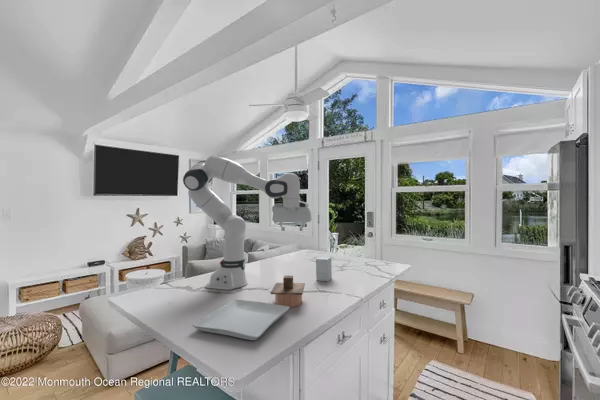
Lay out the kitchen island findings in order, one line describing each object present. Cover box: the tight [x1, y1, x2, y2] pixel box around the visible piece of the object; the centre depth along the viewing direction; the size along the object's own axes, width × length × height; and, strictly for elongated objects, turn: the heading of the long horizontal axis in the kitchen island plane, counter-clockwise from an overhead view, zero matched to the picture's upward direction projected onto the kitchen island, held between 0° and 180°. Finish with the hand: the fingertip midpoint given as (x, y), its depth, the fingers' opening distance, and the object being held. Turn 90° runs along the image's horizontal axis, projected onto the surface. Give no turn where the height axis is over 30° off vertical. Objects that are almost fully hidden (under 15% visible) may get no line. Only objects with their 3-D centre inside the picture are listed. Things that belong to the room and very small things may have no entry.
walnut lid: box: [270, 275, 306, 296], centre depth 131 cm, size 14×14×6 cm
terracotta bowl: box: [274, 294, 303, 308], centre depth 131 cm, size 12×12×6 cm
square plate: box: [192, 299, 291, 341], centre depth 110 cm, size 27×27×4 cm
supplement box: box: [315, 256, 333, 282], centre depth 166 cm, size 7×7×13 cm
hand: (292, 230), depth 147 cm, fingers open, 8 cm apart
